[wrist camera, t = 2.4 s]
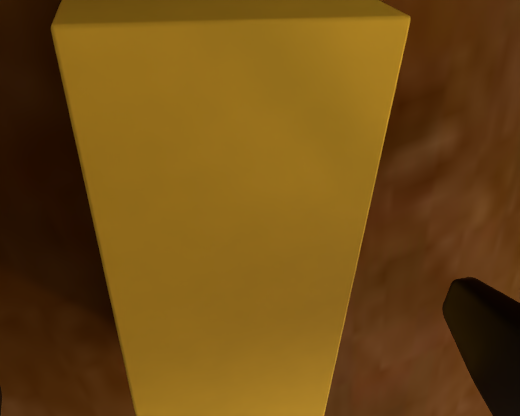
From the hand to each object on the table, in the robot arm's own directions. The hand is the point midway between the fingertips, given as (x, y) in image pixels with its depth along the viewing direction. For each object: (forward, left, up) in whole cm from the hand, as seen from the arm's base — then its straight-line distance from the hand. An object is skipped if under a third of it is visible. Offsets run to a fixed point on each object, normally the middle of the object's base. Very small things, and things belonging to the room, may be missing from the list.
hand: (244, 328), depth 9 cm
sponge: (0, 0, -5) cm, 5 cm away
